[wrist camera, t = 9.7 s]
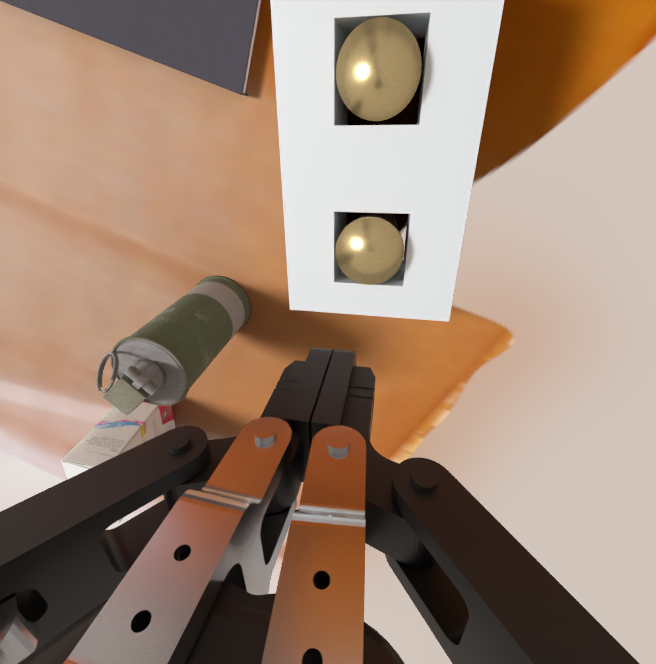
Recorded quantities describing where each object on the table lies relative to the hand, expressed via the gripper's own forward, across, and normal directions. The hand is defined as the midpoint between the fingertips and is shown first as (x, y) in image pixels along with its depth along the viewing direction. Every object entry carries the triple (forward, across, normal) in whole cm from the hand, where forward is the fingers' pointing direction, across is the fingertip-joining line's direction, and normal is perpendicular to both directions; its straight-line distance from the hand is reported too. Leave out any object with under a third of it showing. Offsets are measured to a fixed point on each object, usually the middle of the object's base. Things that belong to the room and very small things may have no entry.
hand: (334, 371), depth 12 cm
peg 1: (+20, 0, -10) cm, 23 cm away
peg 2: (+21, 0, 0) cm, 21 cm away
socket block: (+21, 0, -5) cm, 21 cm away
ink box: (+21, +26, +24) cm, 41 cm away
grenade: (+21, +15, +8) cm, 27 cm away
